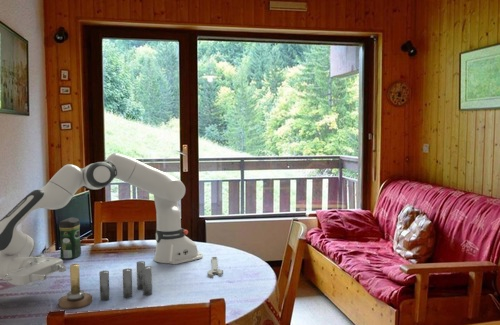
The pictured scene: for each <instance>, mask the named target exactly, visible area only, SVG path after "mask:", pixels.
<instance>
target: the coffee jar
mask: <svg viewBox="0 0 500 325" xmlns="http://www.w3.org/2000/svg"><path fill="white" fill-rule="evenodd" d="M58 225H59V226H58V227H59V228H58V229H59V232H60V259H62V260H69V259H75V258H77V257H79V256H80V255H82V246H81V234H80V229H81V228H80V227H81V223H80V219H79V218H78V217H72V216H71V217H68V218H66V219H63V220H61V221H59V222H58Z"/></svg>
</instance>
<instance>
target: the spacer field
mask: <svg viewBox="0 0 500 325" xmlns="http://www.w3.org/2000/svg"><path fill="white" fill-rule="evenodd" d="M152 273H153V272H152V266H149V265H147V266H146V261H142V260H141V261H140V260H139V261H137V262H136V289H137V290H142V293H143V294H142V295H143V296H151V295H153V280H152V278H153V277H152V276H153V274H152ZM98 274H99V300H100V301H102V302H106V301H109V300H110V298H111V297H110V271H109V270H101V271H99V273H98ZM122 297H123V299H131V298H132V297H133V270H132V268H129V267H128V268H123V269H122Z"/></svg>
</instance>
